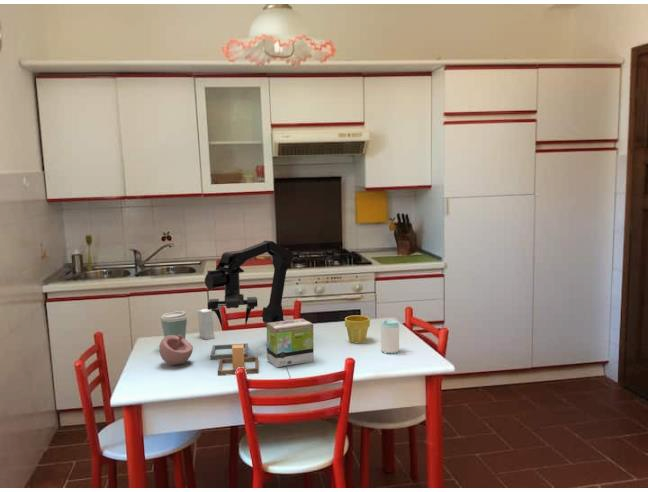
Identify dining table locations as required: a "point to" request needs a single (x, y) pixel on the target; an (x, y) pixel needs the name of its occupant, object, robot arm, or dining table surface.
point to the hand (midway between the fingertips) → (233, 324)
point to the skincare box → (205, 324)
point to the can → (389, 336)
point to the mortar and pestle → (175, 349)
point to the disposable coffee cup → (174, 323)
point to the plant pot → (357, 327)
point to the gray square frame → (228, 346)
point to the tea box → (289, 342)
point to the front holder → (232, 371)
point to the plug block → (238, 356)
